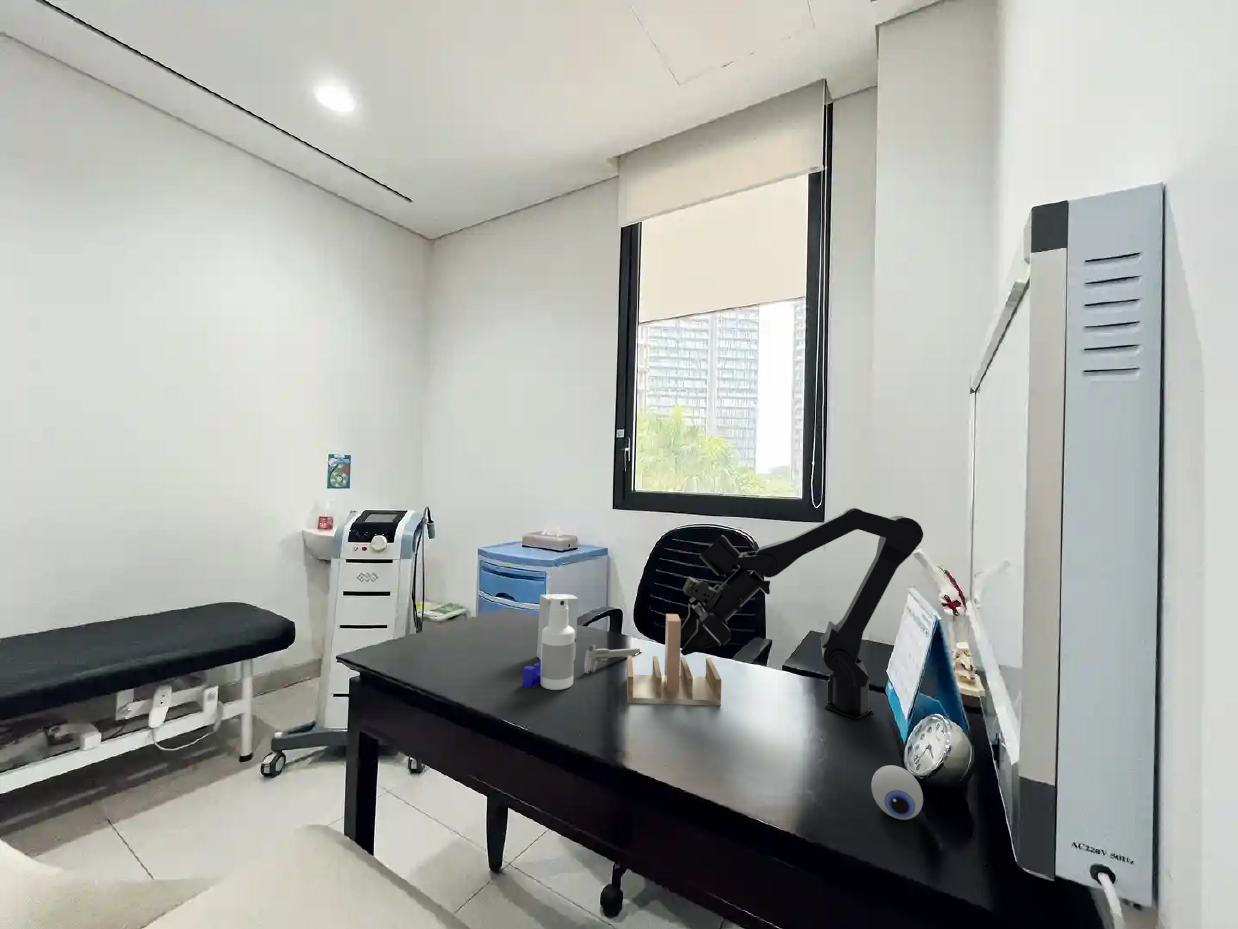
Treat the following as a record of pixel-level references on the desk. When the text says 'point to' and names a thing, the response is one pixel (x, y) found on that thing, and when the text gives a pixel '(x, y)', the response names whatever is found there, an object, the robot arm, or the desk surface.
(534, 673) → the cable holder
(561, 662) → the spray bottle
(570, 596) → the skincare box
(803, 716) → the desk surface
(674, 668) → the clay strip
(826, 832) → the desk surface
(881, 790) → the eyeball
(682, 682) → the rack
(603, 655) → the caliper
